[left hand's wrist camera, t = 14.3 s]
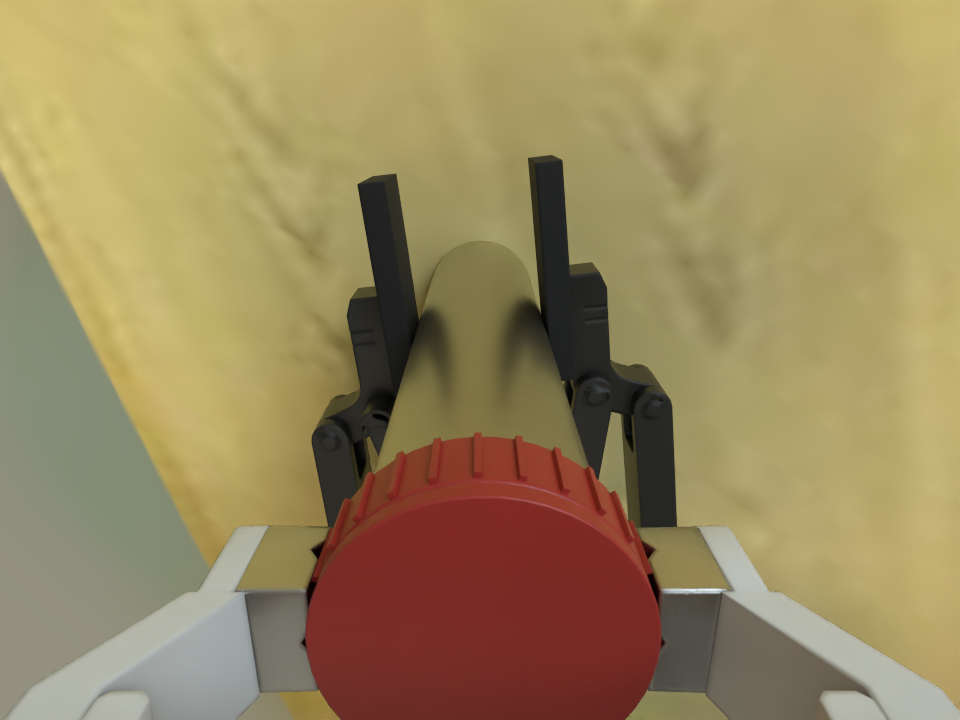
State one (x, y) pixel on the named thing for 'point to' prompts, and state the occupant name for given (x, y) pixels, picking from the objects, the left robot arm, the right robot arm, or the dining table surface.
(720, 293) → the dining table surface
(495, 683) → the lid
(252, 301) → the dining table surface
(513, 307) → the olive cylindrical rod
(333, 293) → the dining table surface
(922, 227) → the dining table surface
